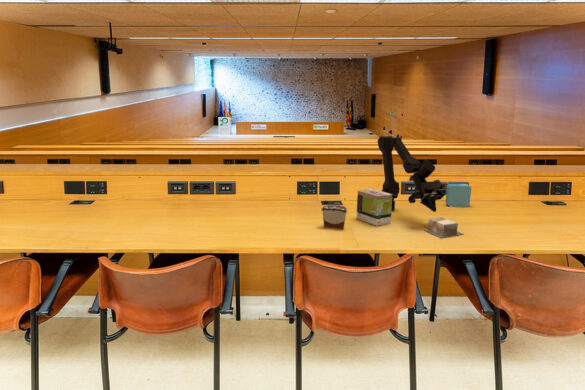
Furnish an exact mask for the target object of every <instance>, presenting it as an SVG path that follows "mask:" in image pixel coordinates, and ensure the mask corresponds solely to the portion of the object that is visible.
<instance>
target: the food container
mask: <svg viewBox="0 0 585 390" xmlns="http://www.w3.org/2000/svg"><path fill="white" fill-rule="evenodd" d="M321 212H322V221H323V228H324V229H332V230H333V229H334V230H344V229H345V224H346V215H347V213H348V209H347V207H346V206H344V205H340V204H326V205H323V206H322V208H321Z"/></svg>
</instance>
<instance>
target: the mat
mask: <svg viewBox="0 0 585 390" xmlns="http://www.w3.org/2000/svg"><path fill="white" fill-rule="evenodd" d="M423 231H424V232H426V233H427V234H430V235H432V236H435V237H437V238H440V239H445V238H452V237H458V236H462V235H463V236H464V233H463V232H459V231H458V230H457V234H454V235H448V236H443V235H441V234H439V233H436V232H434V231H432V230H429V229H426V230H423Z"/></svg>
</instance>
